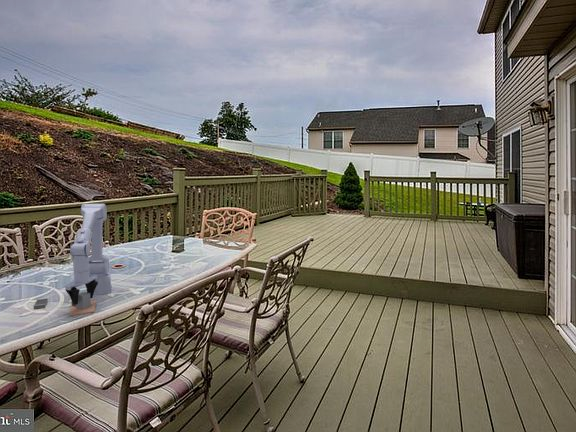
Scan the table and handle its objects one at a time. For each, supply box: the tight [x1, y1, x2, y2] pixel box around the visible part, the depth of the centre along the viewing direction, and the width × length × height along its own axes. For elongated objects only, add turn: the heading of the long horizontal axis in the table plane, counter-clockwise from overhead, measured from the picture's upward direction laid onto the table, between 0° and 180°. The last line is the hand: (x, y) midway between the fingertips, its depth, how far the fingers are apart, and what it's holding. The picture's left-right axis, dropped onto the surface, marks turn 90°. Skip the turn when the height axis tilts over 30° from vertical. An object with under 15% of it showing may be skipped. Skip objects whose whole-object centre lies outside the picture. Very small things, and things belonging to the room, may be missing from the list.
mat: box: [69, 300, 97, 317], centre depth 154 cm, size 9×13×1 cm
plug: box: [71, 291, 92, 310], centre depth 154 cm, size 4×8×6 cm, turn 72°
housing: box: [33, 297, 49, 310], centre depth 160 cm, size 18×8×2 cm, turn 116°
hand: (83, 301), depth 154 cm, fingers open, 7 cm apart
